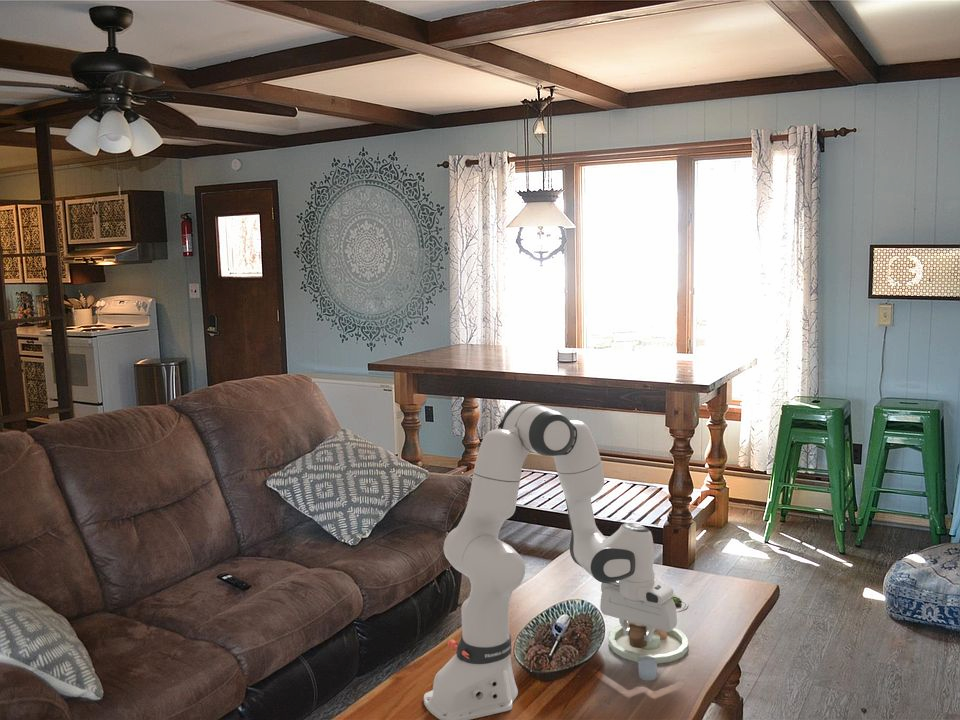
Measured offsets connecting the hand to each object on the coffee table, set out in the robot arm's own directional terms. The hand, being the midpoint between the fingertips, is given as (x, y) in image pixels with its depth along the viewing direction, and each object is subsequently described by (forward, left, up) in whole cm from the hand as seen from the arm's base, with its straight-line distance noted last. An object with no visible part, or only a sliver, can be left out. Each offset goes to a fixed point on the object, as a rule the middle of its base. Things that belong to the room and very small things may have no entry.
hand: (638, 638), depth 216 cm
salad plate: (+24, +20, -6) cm, 32 cm away
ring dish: (+5, +2, -5) cm, 7 cm away
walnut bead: (0, 0, -2) cm, 2 cm away
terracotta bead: (+10, +4, -4) cm, 12 cm away
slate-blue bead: (-6, -10, -5) cm, 13 cm away
